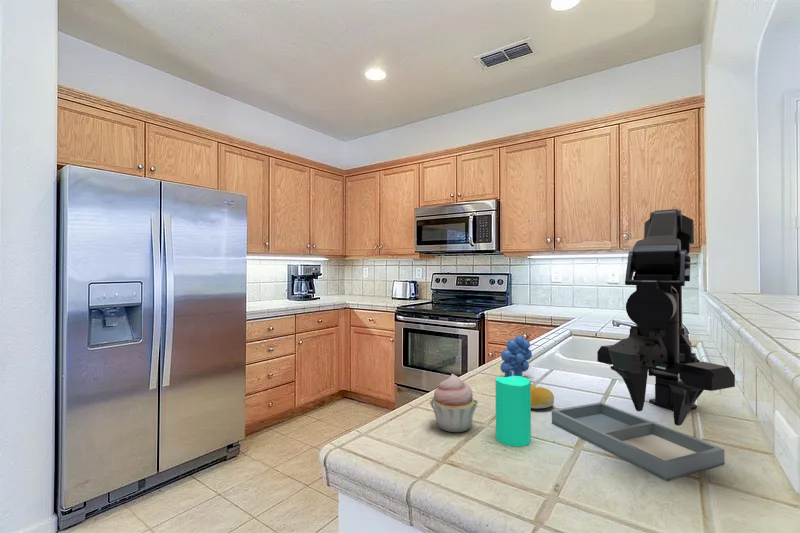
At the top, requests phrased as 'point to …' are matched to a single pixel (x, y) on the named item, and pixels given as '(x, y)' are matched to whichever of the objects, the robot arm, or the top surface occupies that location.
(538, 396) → the bread roll
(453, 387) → the cupcake
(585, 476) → the top surface
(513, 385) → the candle
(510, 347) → the grapes
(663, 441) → the gray divided tray
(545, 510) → the top surface
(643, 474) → the top surface
